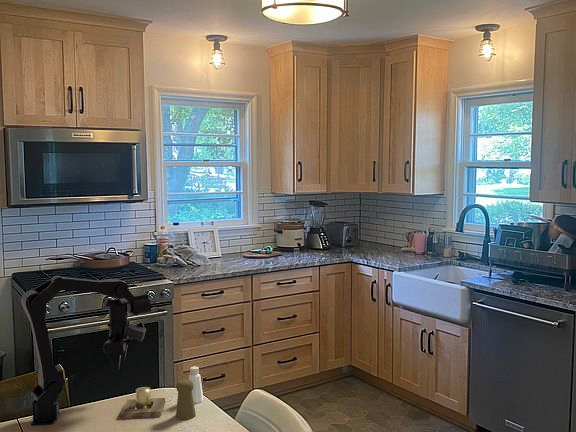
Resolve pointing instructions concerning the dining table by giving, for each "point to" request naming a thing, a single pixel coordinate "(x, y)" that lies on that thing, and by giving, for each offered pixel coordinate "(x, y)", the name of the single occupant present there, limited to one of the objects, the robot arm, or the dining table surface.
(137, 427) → the dining table surface
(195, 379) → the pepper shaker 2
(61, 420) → the dining table surface
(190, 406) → the pepper shaker
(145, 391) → the brass pin
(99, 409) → the dining table surface
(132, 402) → the socket board
